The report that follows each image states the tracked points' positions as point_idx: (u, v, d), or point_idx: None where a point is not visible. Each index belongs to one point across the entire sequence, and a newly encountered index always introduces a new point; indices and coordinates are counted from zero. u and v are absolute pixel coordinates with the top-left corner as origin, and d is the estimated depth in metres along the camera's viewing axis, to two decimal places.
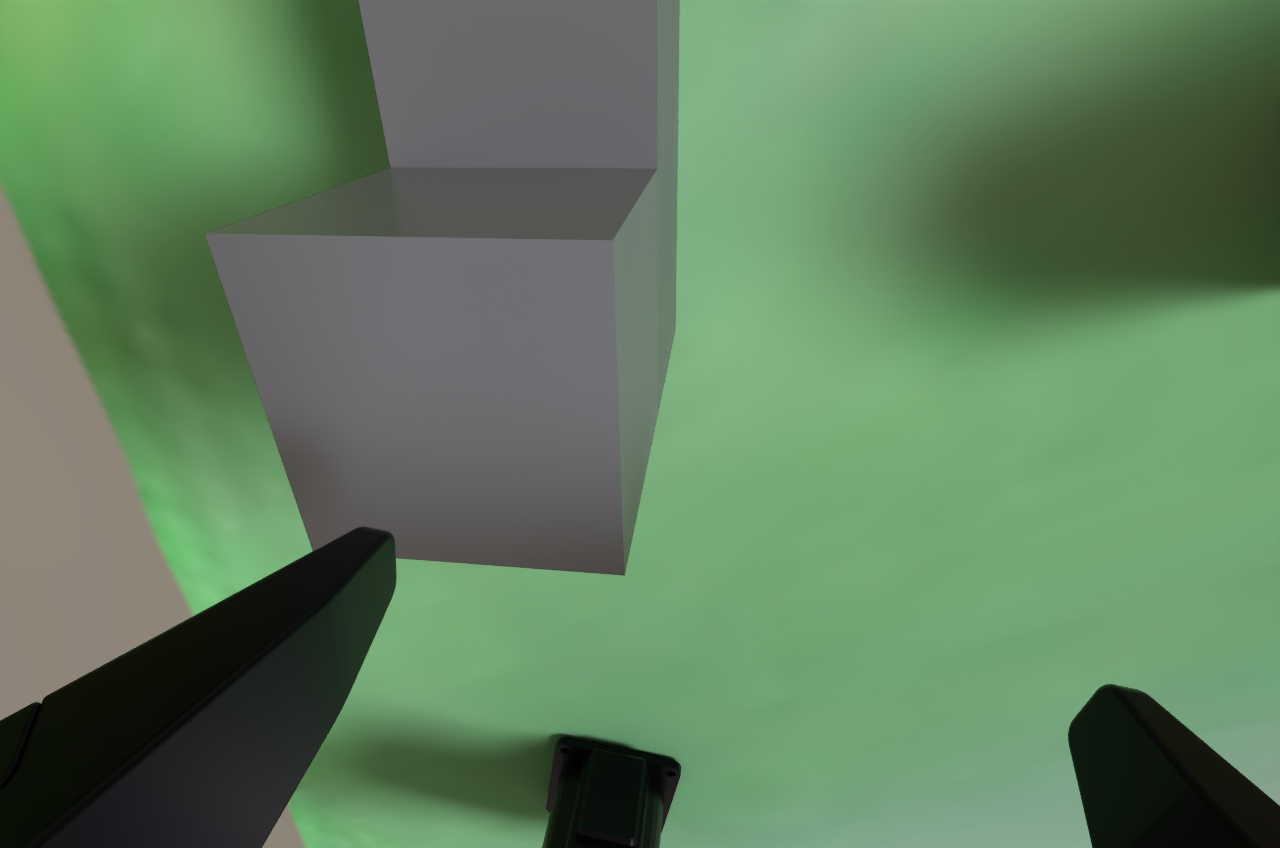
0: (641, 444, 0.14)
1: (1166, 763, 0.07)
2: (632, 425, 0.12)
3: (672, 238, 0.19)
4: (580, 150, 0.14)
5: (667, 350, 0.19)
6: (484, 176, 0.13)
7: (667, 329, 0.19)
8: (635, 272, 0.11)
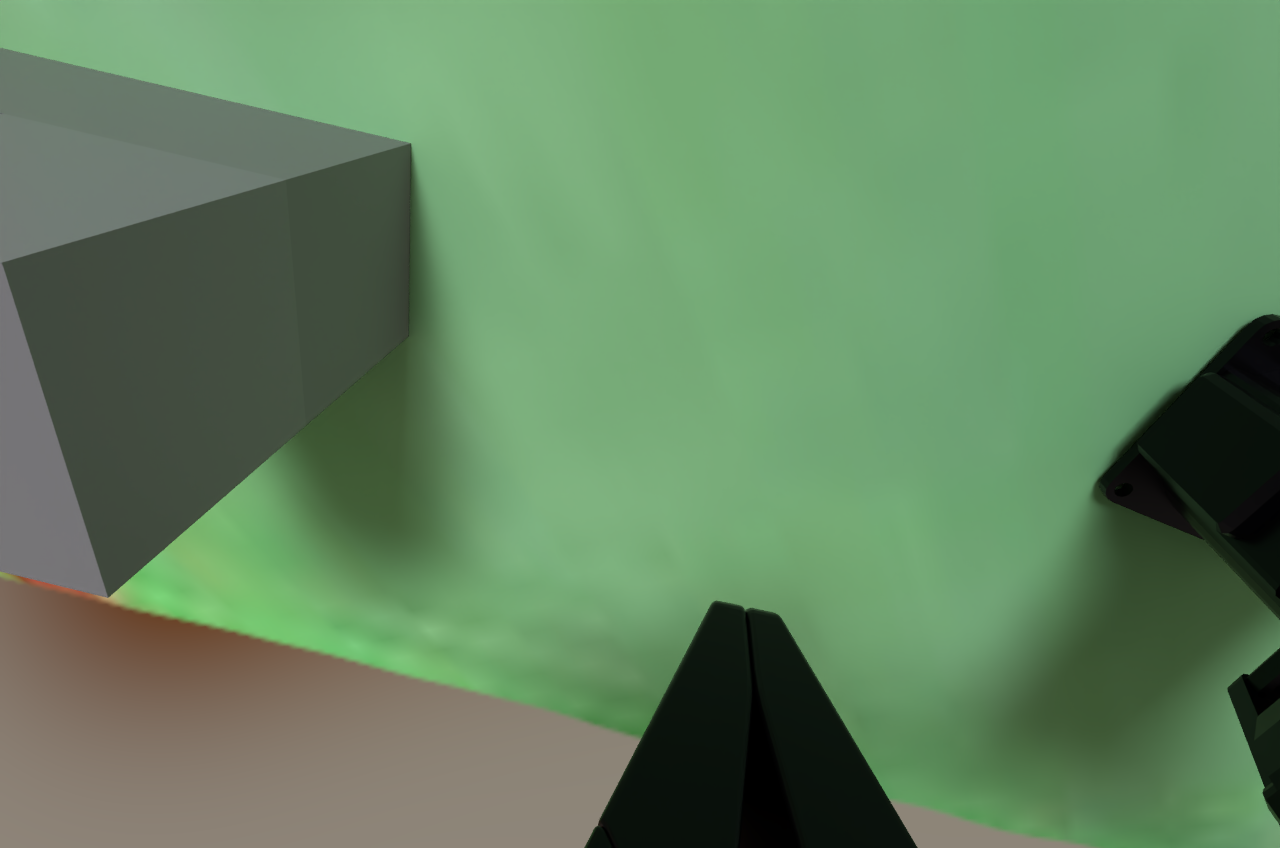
0: (90, 199, 0.11)
1: (750, 674, 0.07)
2: None
3: (258, 121, 0.17)
4: None
5: (331, 154, 0.16)
6: None
7: (306, 148, 0.16)
8: None
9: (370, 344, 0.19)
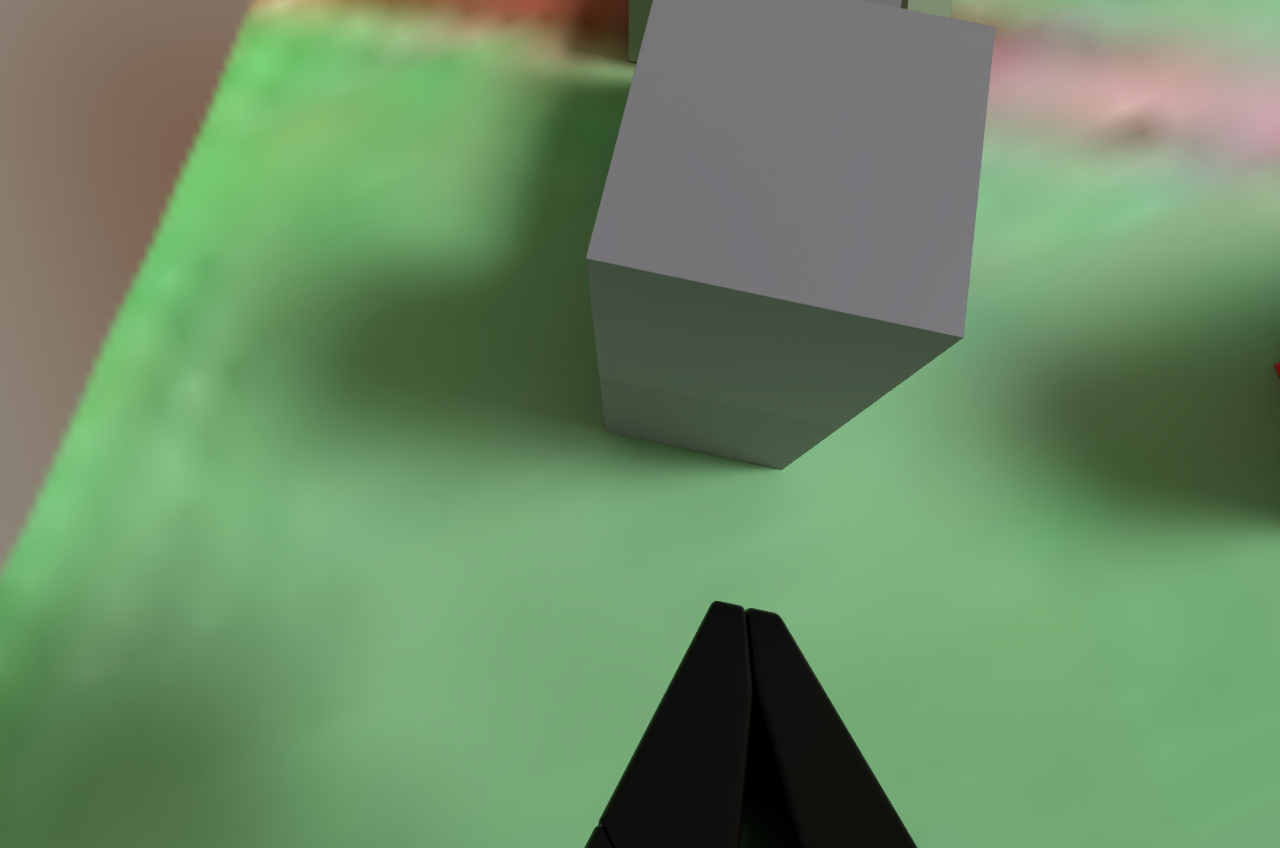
0: None
1: (750, 674, 0.07)
2: None
3: None
4: None
5: None
6: None
7: None
8: None
9: (629, 417, 0.19)
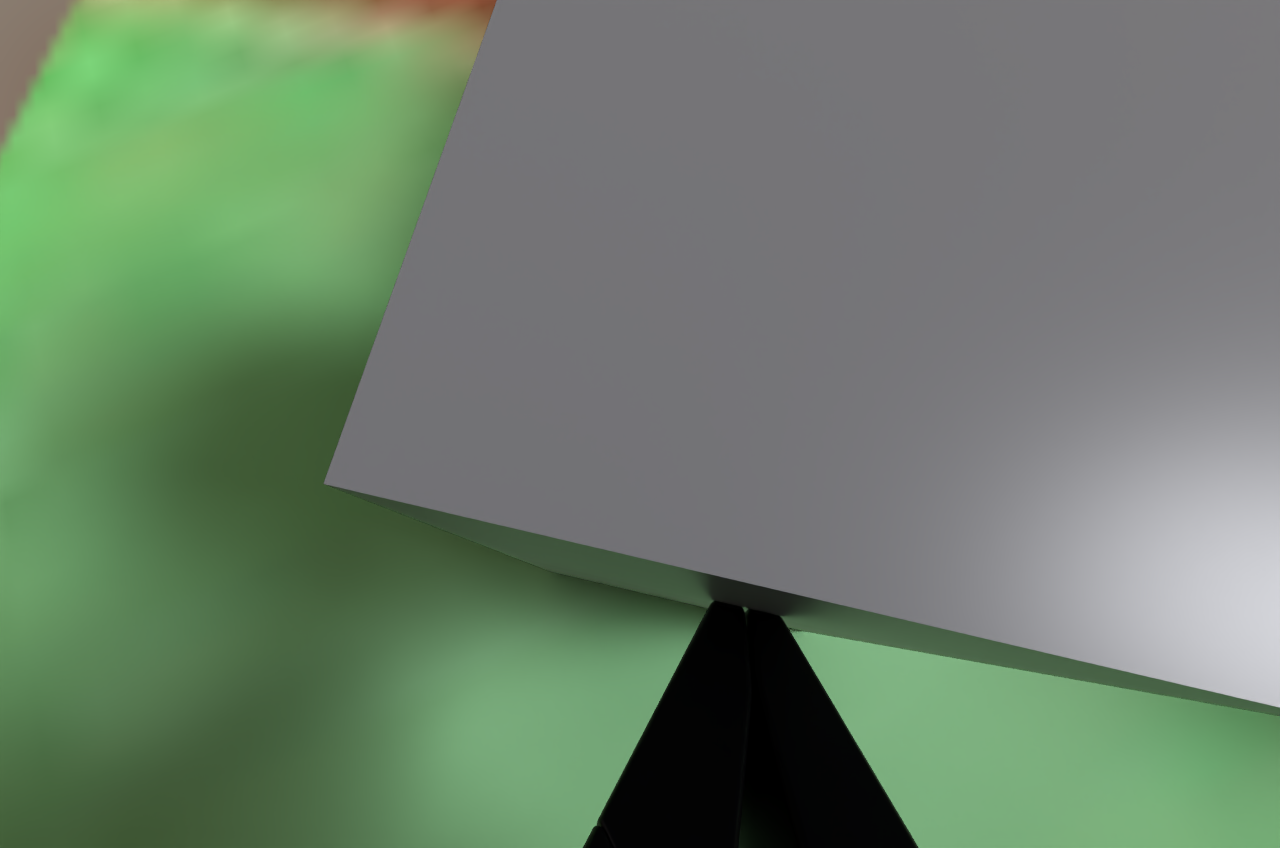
0: None
1: (751, 674, 0.07)
2: None
3: None
4: None
5: None
6: None
7: None
8: None
9: (576, 575, 0.13)
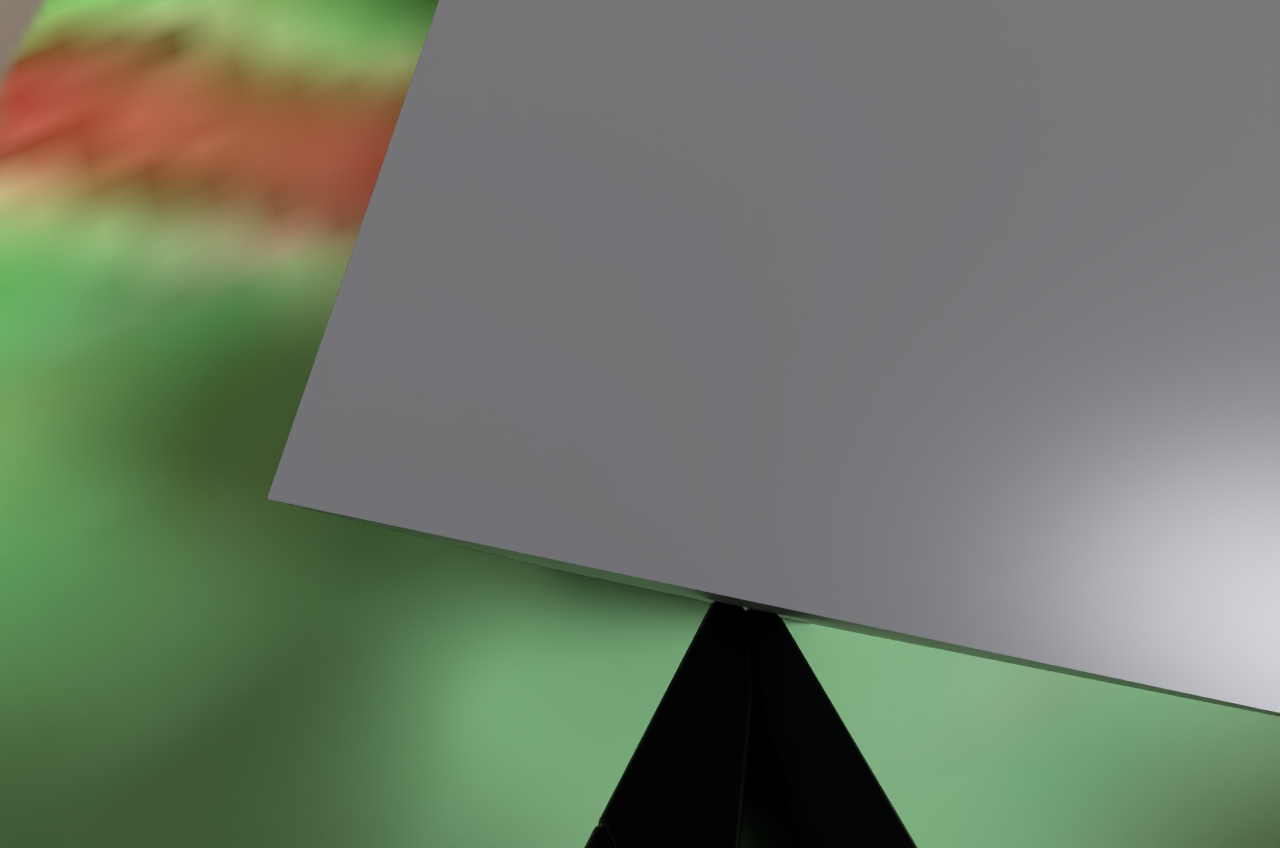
0: None
1: (750, 674, 0.07)
2: None
3: None
4: None
5: None
6: None
7: None
8: None
9: None
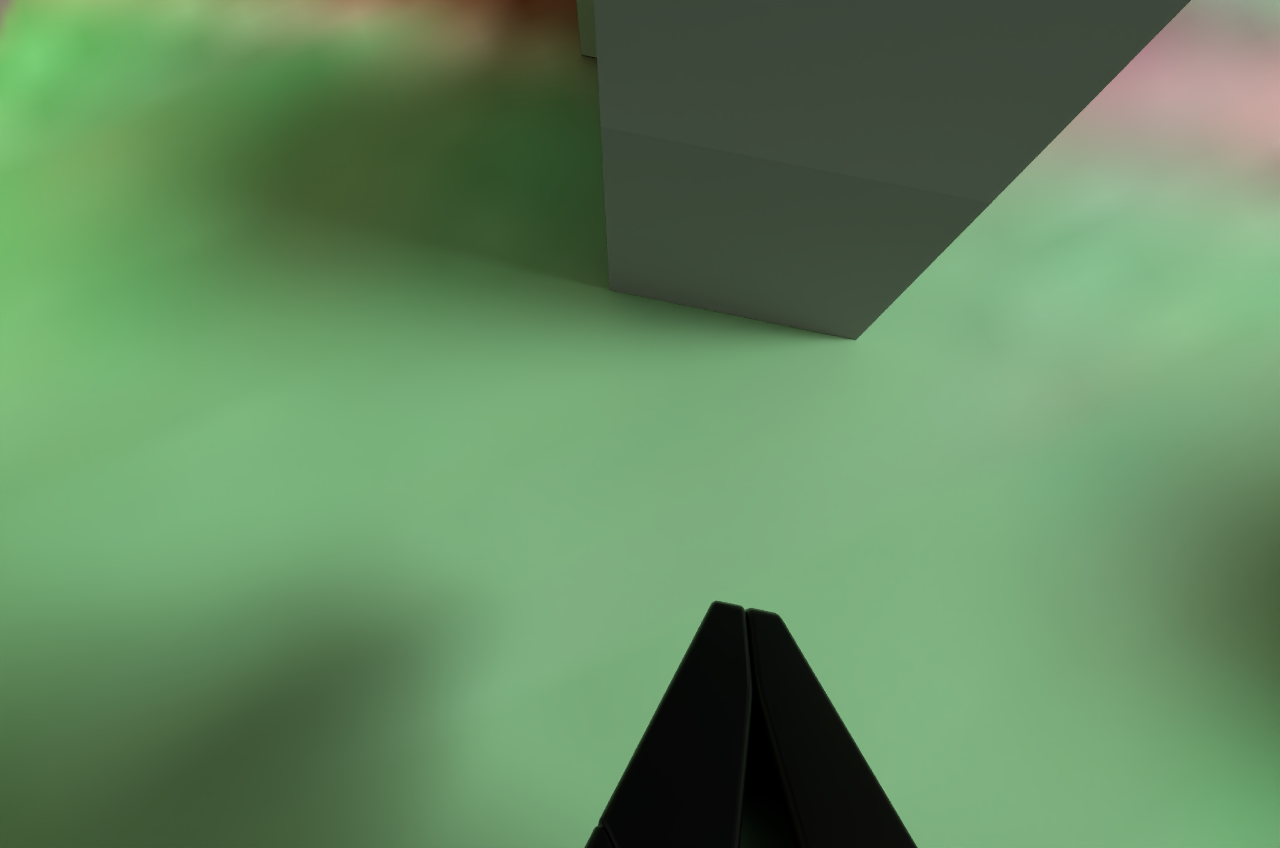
0: None
1: (750, 674, 0.07)
2: None
3: None
4: None
5: None
6: None
7: None
8: None
9: (645, 244, 0.13)
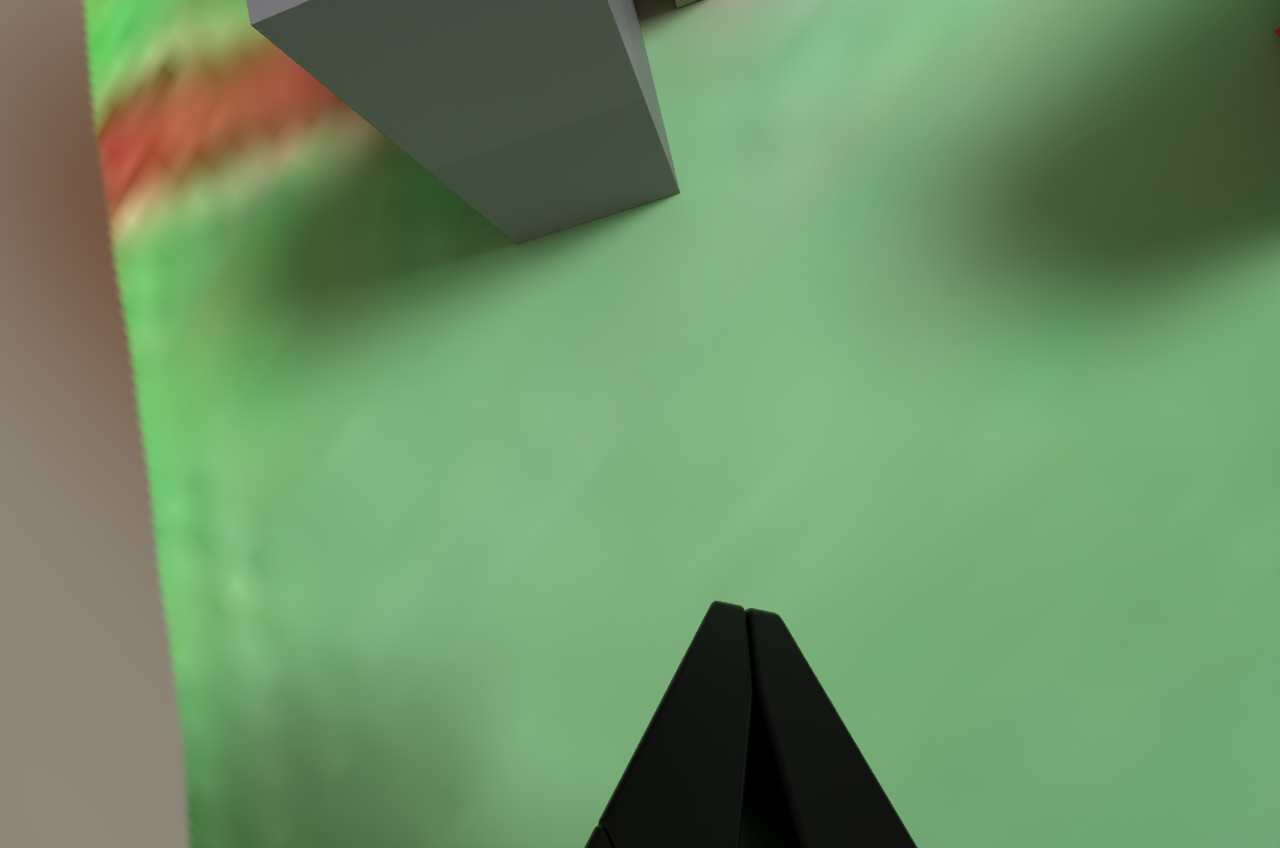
0: None
1: (750, 674, 0.07)
2: None
3: (648, 72, 0.21)
4: None
5: (659, 131, 0.19)
6: None
7: (654, 111, 0.19)
8: None
9: (507, 210, 0.21)
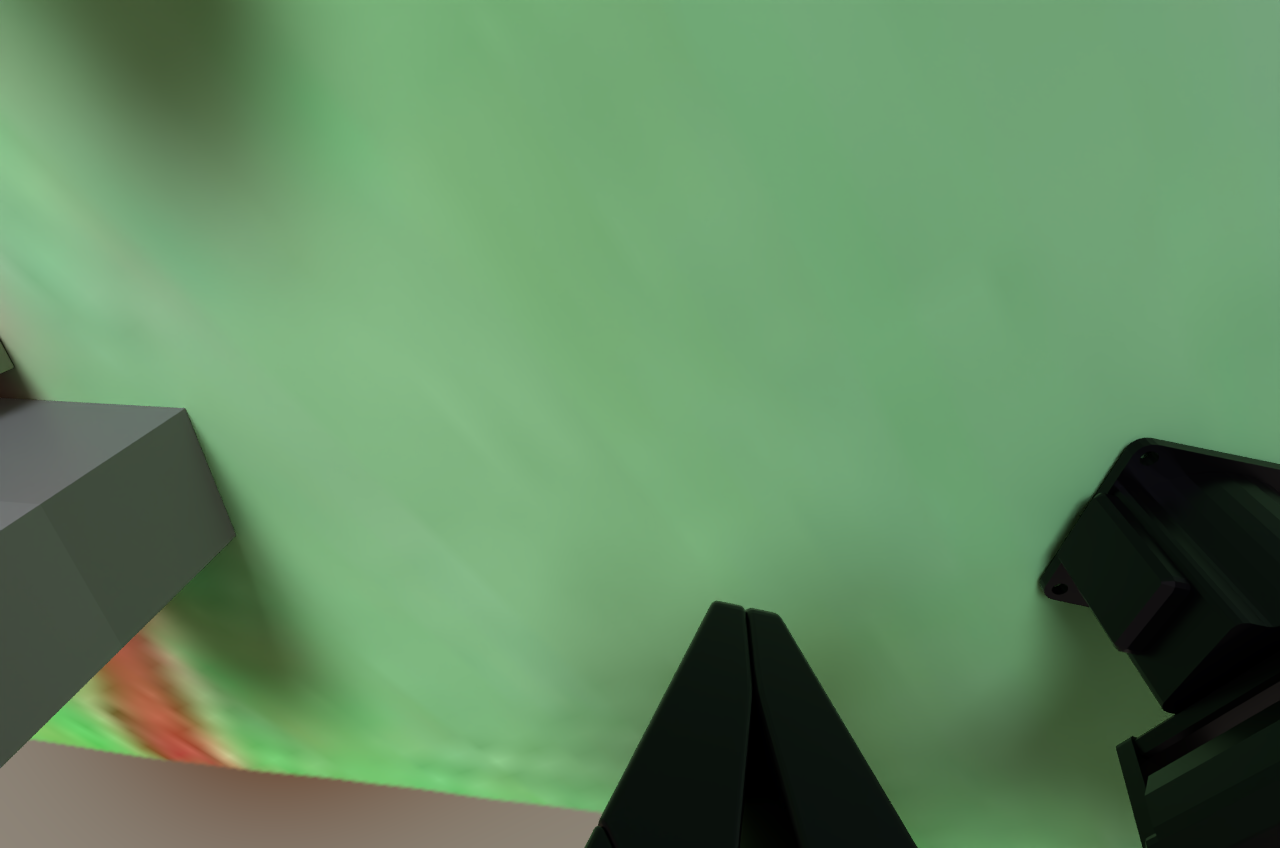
0: None
1: (750, 674, 0.07)
2: None
3: (64, 424, 0.23)
4: None
5: (101, 451, 0.22)
6: None
7: (84, 450, 0.22)
8: None
9: (185, 561, 0.25)
